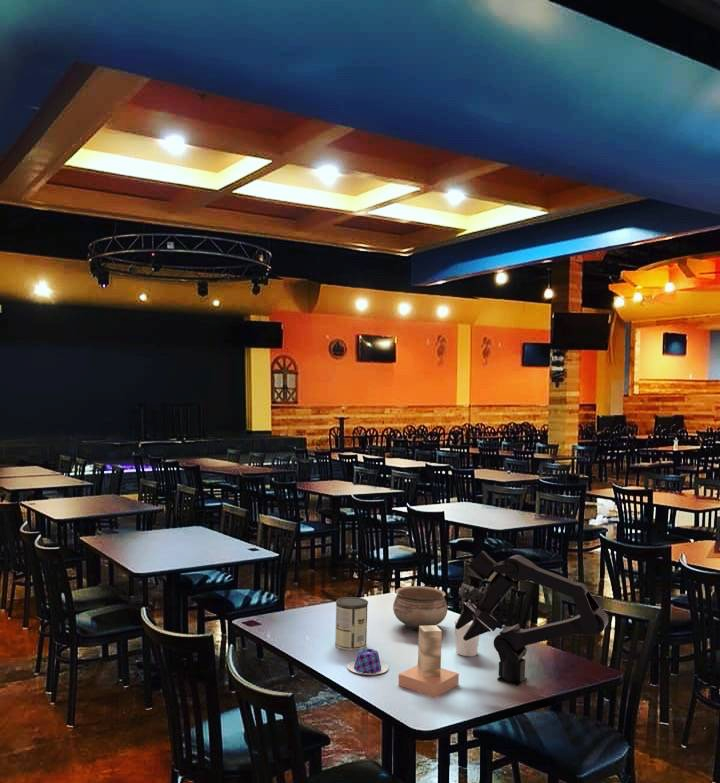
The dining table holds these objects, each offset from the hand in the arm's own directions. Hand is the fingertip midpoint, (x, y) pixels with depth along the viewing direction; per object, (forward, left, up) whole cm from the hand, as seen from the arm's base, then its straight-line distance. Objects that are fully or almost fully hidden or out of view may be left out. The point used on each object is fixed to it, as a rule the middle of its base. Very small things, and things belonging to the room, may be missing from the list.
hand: (460, 633), depth 201 cm
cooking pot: (+34, -31, -13) cm, 47 cm away
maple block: (+4, +10, -9) cm, 14 cm away
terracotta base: (+4, +10, -12) cm, 17 cm away
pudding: (+23, +12, -13) cm, 29 cm away
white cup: (+9, -20, -13) cm, 25 cm away
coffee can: (+40, 0, -13) cm, 42 cm away
